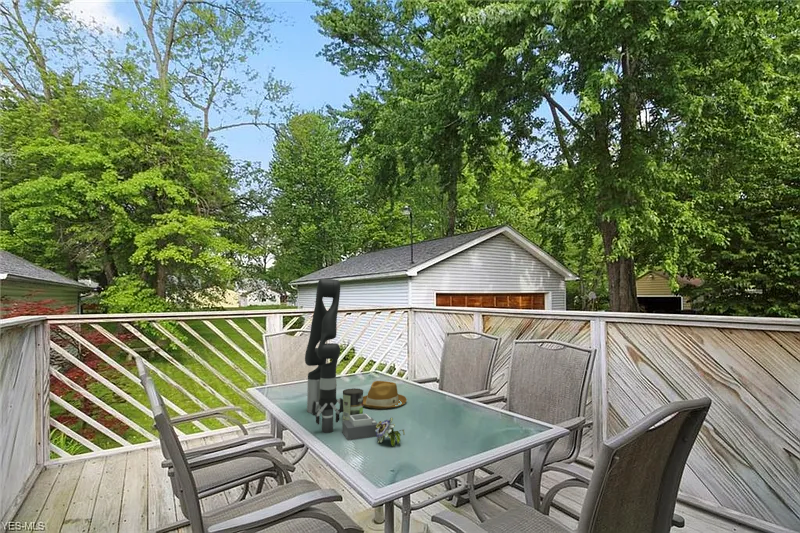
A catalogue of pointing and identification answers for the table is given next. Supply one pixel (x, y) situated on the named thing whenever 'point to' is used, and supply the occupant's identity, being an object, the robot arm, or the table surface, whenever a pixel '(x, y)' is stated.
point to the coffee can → (352, 402)
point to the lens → (327, 421)
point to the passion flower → (387, 432)
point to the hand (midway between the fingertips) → (327, 422)
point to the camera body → (359, 427)
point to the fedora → (383, 396)
